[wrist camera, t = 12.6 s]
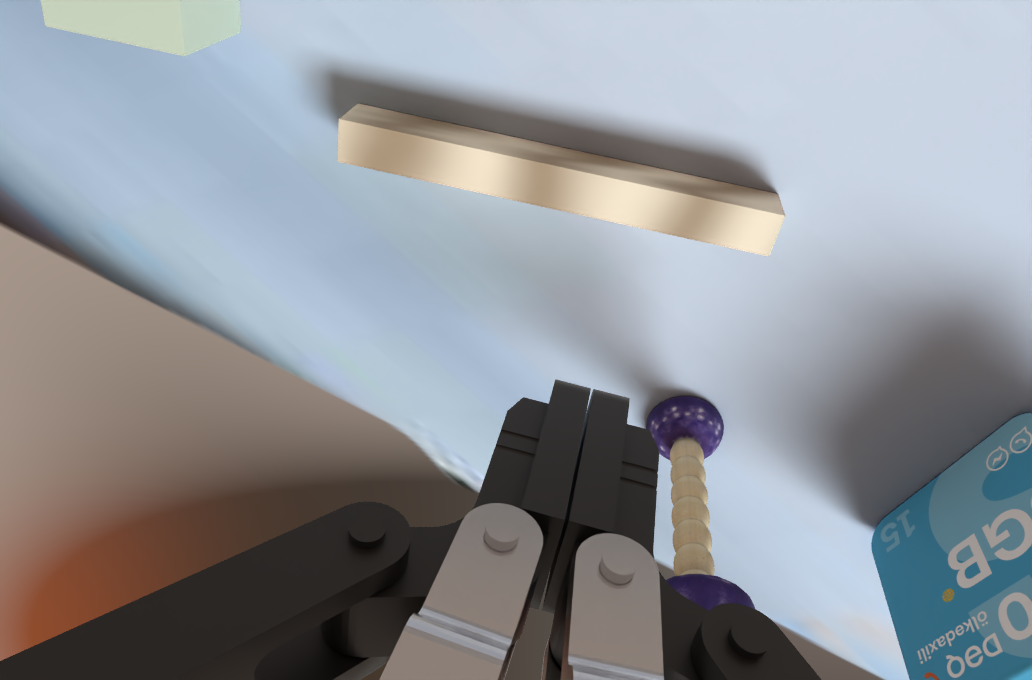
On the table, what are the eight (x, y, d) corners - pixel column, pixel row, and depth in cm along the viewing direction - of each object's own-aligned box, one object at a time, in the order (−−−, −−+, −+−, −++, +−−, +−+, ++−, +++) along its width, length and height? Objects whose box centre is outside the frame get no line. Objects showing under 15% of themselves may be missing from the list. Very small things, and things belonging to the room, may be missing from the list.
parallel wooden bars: (894, -108, 27) (912, -105, 25) (763, 232, 35) (769, 256, 33) (370, -209, 28) (346, -214, 26) (356, 144, 36) (337, 161, 34)
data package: (1033, 398, 38) (1164, 592, 28) (1102, 438, 38) (1254, 643, 28) (863, 530, 44) (920, 726, 34) (924, 563, 45) (997, 764, 35)
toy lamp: (661, 379, 41) (658, 648, 27) (745, 399, 41) (785, 680, 27) (638, 443, 43) (625, 717, 30) (716, 462, 43) (740, 747, 29)
